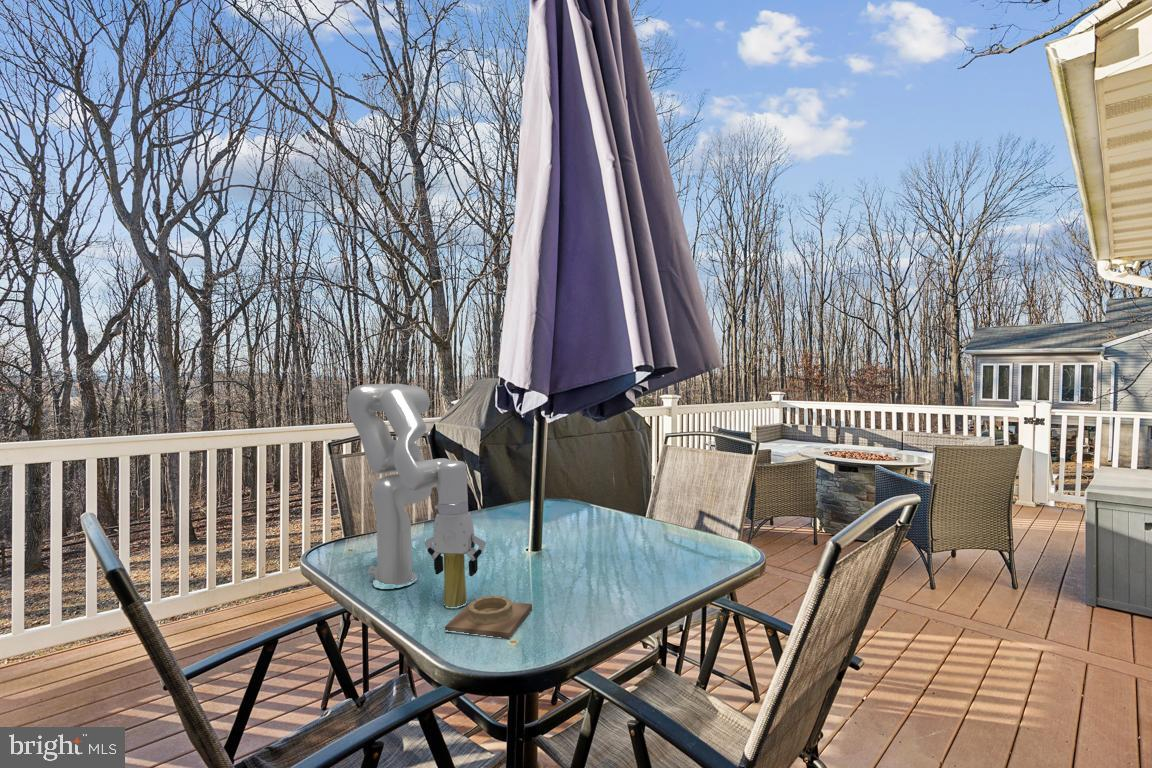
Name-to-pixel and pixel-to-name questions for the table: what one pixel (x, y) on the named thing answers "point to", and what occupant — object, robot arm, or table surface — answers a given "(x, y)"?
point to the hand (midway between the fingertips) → (456, 573)
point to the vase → (454, 580)
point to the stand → (490, 617)
